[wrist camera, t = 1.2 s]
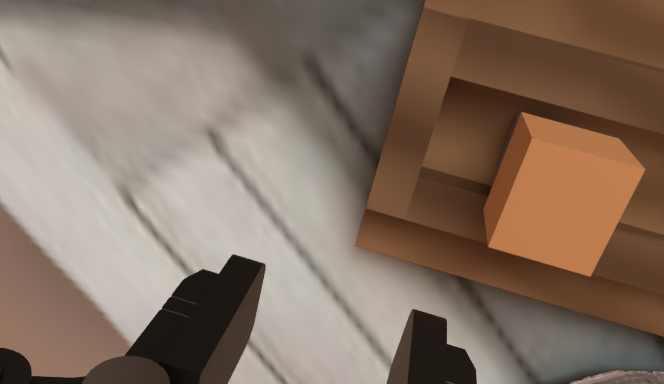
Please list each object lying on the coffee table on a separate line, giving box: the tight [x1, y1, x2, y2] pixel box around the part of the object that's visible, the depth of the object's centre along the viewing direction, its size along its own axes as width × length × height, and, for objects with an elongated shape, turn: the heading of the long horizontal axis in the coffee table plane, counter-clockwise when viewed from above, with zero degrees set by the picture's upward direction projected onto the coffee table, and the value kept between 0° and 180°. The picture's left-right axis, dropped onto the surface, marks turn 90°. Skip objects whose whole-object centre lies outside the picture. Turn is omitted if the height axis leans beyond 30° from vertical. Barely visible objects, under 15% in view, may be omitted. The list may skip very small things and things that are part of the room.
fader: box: [483, 112, 645, 276], centre depth 24 cm, size 5×4×7 cm
